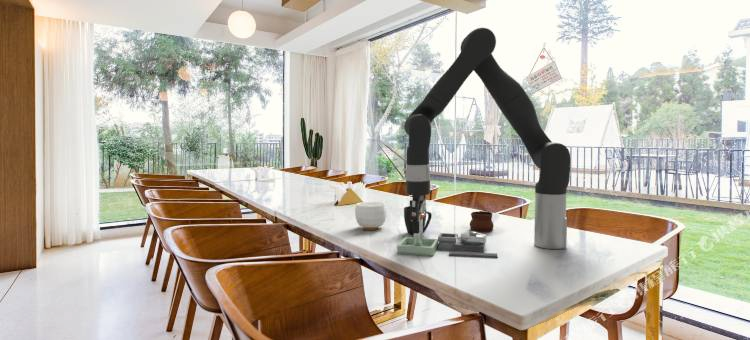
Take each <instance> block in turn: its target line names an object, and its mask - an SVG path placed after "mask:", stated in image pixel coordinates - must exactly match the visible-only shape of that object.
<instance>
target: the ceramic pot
mask: <svg viewBox="0 0 750 340" xmlns="http://www.w3.org/2000/svg"><path fill="white" fill-rule="evenodd" d="M470 216H471V220H470V222H469V230H470V231H476V232H477V233H489V232H492V231H493V230H494V227H495V226H494V222H493V220H492V218H493V212H491V211H486V210H479V211H473V212H471V213H470Z"/></svg>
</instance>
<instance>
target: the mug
mask: <svg viewBox="0 0 750 340" xmlns="http://www.w3.org/2000/svg"><path fill="white" fill-rule="evenodd" d="M432 216H433V214H432V212H430V211H427V210H426V213H425V216H424V227H423V234H424V233H425V232H426V231H427V229H428V227H429V225H430V223H431V220H432ZM403 218H404V219H403V220H404V223H405V224H404V225H405V227H406V231H407V234H408V235H411V236H414V233H412V221H411V220H410V219H409V218H410V205H408V206H405V207H403Z"/></svg>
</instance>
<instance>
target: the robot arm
mask: <svg viewBox="0 0 750 340" xmlns="http://www.w3.org/2000/svg"><path fill="white" fill-rule="evenodd" d="M496 45H497V38H496V35H495V33H494V31H493V30H491V29H490V28H488V27H487V28H486V27H478V28H475V29H473V30H472V31H470V32H469V33H468V34H467V35H466V36H465V37H464V38H463V39H462V41H461V43H460V53H459V55H458V56H457V57H456V59H455V60H454V62H453V63H452V64H451V65H450V67H449V68H448V69H447V70H446V71H445V72H444V73H443V74H442V76H440V78H438V80H437V81H436V82H435V83H434V85H433V86H432V87H431V89H430V90H429V91H428V93H426V95H425V96H424V98H423V100H422V101H421V103H419V105H418V106H417V107H416V108H415V109H414V110H413V111H412V112H411V113H410V115H409V116H408V117H407V118H406V120H405V122H404V125H403V126H404V131H405V134H406V135H407V136H408V146H407V148H406V152H405V153H406V159H405V160H406V161H405V162H406V168H405V193H406V194H407V195H409V196H412V198H411V199H412V200H409V206H410V218H409V219H410V220H411V221H412V233H416V234H418V233H419V220H420V215H422V213H424V216H425V213H426V211H427V200H426V199H427V196H428V195H430V194H431V170H430V169H431V168H430V145H431V136H432V122H433V121H434V120H435V118H437V116H439V115H441V113H443V112H444V110H445V109H446V108H447V107H448V105H449V104H450V103H451V101H452V100H453V98H454V97H455V96H456V94H457V93H458V92H459V90H460V88H462V85H463V84H464V83H465V81H466V80H467V79H468V78H469V76H470V75H471V74H472V73H473V72H474V73H475V74H476V75H477V76H478V77H479V79H480V80H481V82H482V83H483V85H484V86H485V88H486V89H487V92H488V93H489V94H490V96H491V97H492V99H493V100H494V102H495V104H496V105H497V107H498V108H499V110H500V111H501V113H502V115H503V116H504V118H505V119H506V121H508V123H509V125H510V126H511V127H512V129H513V130H514V131H515V133H516V134H517V135H518V137H519V138H520V140H521V141H522V143H523V145H524V147H525V149H526V151H527V152H528V155H529V157H530V158H531V160H532V163H533V164H534V165H535V166H536V167H537V169H539V179H538V181H537V182H536V184H535V186H534V231H533V232H534V237H533V240H534V242H533V243H534V246H536V247H538V248H542V249H547V250H549V249H550V250H560V249H567V243H568V241H567V240H568V239H567V237H568V235H567V234H568V233H567V232H568V218H567V190H568V189H567V188H568V186H569V184H570V180H571V177H570V176H571V162H572V161H571V152H570V150H569V148H568V147H567V146H566V145H564V144H563V143H559V142H553V141H551V139H550V138H549V137H548V135H547V134H546V133H545V131H544V130H543V128H542V127H541V124H540V122H539V120H538V115H537V112H536V108H535V106H534V103H533V101H532V100H531V97H530V96H529V95H528V93H527V91H526V90H525V88H523V86H522V85H521V83H519V82H518V81H517V80H516V79H515V78H514V77H512V76H511V75H510V74H508V73H507V72H506V70H503V69H504V68H502V67H501V66H500V64H499V63H498V62H497V60H496V58H495V57H494V56H493V53H494V51H495V48H496ZM426 214H427V213H426ZM414 215H416V216H414ZM423 227H425V226H424V218H423Z"/></svg>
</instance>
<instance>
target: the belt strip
mask: <svg viewBox="0 0 750 340" xmlns="http://www.w3.org/2000/svg"><path fill="white" fill-rule="evenodd" d="M448 251H449V252H448V254H449V255H448V256H449V257H467V256H468V257H471V258H475V257H476V258H489V259H490V258H491V259H494V258H495V259H497V258H498V253H494V252H492V253H491V252H484V253H482V252H467V251H451V250H448Z"/></svg>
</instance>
